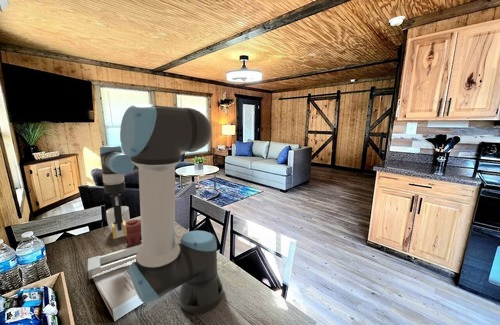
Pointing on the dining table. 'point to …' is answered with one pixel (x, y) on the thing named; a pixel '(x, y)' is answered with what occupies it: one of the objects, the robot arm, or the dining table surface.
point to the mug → (111, 217)
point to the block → (115, 230)
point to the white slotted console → (98, 260)
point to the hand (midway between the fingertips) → (119, 233)
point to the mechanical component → (133, 232)
